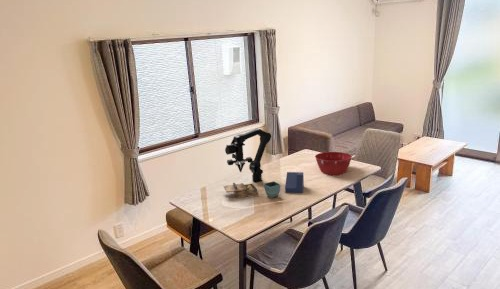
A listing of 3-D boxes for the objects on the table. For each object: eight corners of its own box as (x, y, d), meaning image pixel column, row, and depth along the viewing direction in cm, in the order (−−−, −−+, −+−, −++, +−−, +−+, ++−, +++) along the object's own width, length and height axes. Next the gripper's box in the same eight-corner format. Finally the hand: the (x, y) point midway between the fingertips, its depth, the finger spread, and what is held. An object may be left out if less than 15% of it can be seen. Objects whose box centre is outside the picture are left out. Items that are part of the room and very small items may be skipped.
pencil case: (253, 189, 271) (252, 183, 270) (257, 194, 258) (257, 189, 257) (233, 191, 267) (232, 186, 266) (237, 198, 255) (236, 192, 254)
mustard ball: (251, 189, 268) (251, 184, 267) (253, 191, 265) (252, 185, 264) (246, 190, 267) (246, 184, 267) (247, 191, 264) (247, 186, 263)
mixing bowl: (327, 167, 312) (327, 149, 309) (358, 172, 292) (358, 154, 289) (308, 175, 293) (308, 157, 289) (340, 182, 273) (339, 162, 269)
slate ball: (253, 191, 263) (253, 186, 262) (255, 193, 259) (254, 188, 259) (248, 192, 262) (248, 187, 261) (249, 194, 259) (249, 189, 258)
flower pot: (270, 199, 248) (269, 187, 246) (263, 195, 256) (263, 183, 254) (281, 196, 252) (280, 184, 250) (274, 193, 260) (274, 181, 258)
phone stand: (285, 193, 258) (284, 177, 255) (287, 187, 269) (286, 172, 267) (302, 193, 255) (301, 177, 252) (303, 187, 266) (303, 172, 264)
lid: (243, 184, 268) (242, 180, 267) (247, 189, 256) (246, 186, 255) (223, 186, 264) (223, 183, 264) (226, 192, 252) (226, 188, 252)
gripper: (248, 148, 280) (249, 167, 283) (224, 151, 275) (226, 170, 279) (252, 151, 269) (253, 171, 272) (227, 154, 265) (229, 174, 268)
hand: (240, 172), depth 273 cm, fingers closed
